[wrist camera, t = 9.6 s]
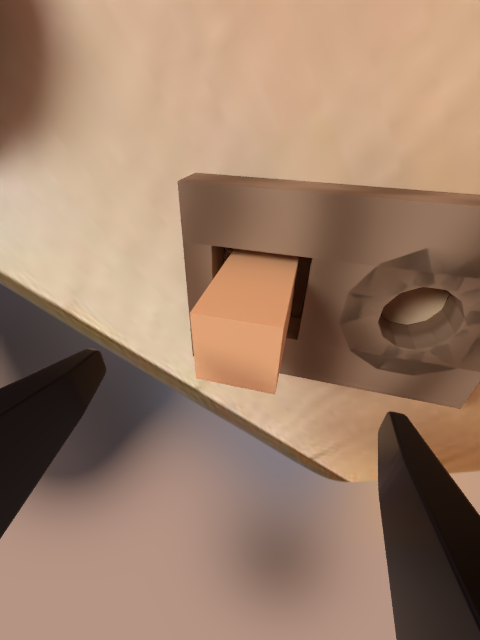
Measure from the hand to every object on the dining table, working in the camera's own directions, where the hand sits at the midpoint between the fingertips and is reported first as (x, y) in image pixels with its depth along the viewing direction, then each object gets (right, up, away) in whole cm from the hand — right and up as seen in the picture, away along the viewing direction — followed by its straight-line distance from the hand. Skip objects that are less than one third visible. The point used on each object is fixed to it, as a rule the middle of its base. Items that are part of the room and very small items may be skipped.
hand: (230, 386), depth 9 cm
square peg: (+2, +5, +11) cm, 12 cm away
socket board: (+6, +4, +10) cm, 12 cm away
